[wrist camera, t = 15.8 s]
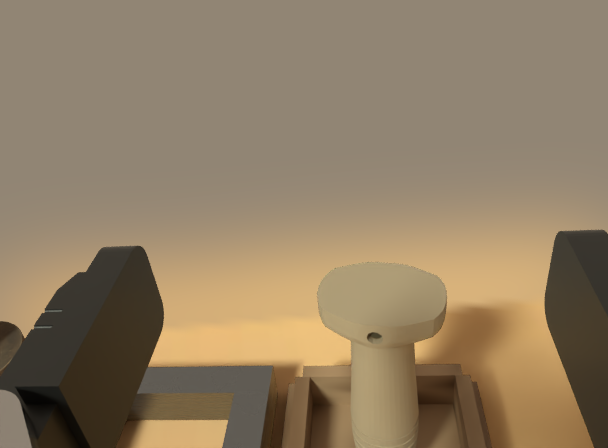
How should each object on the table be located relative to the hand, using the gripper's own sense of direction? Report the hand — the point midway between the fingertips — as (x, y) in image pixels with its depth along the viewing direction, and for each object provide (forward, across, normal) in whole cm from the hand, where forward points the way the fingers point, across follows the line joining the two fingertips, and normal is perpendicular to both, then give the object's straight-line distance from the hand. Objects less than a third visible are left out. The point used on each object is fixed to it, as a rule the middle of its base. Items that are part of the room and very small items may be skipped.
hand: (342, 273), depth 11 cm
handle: (+13, -1, +27) cm, 30 cm away
